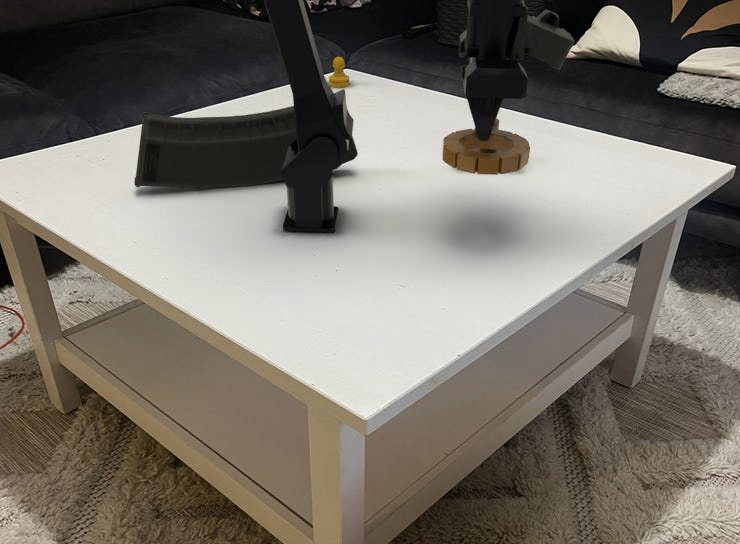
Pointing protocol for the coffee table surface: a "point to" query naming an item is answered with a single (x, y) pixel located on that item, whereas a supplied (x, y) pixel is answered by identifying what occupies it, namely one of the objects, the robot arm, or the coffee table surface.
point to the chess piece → (339, 74)
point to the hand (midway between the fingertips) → (482, 137)
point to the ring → (485, 163)
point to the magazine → (216, 150)
